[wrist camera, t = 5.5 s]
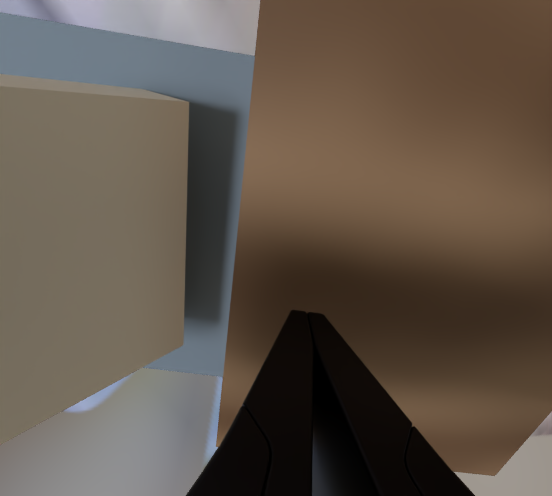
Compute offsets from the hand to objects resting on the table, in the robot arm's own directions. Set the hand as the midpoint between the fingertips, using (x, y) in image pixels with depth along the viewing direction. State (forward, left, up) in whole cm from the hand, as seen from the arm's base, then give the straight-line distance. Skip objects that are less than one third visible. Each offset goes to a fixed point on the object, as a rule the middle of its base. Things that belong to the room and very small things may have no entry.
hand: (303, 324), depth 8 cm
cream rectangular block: (0, +7, -2) cm, 7 cm away
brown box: (0, -4, -5) cm, 7 cm away
